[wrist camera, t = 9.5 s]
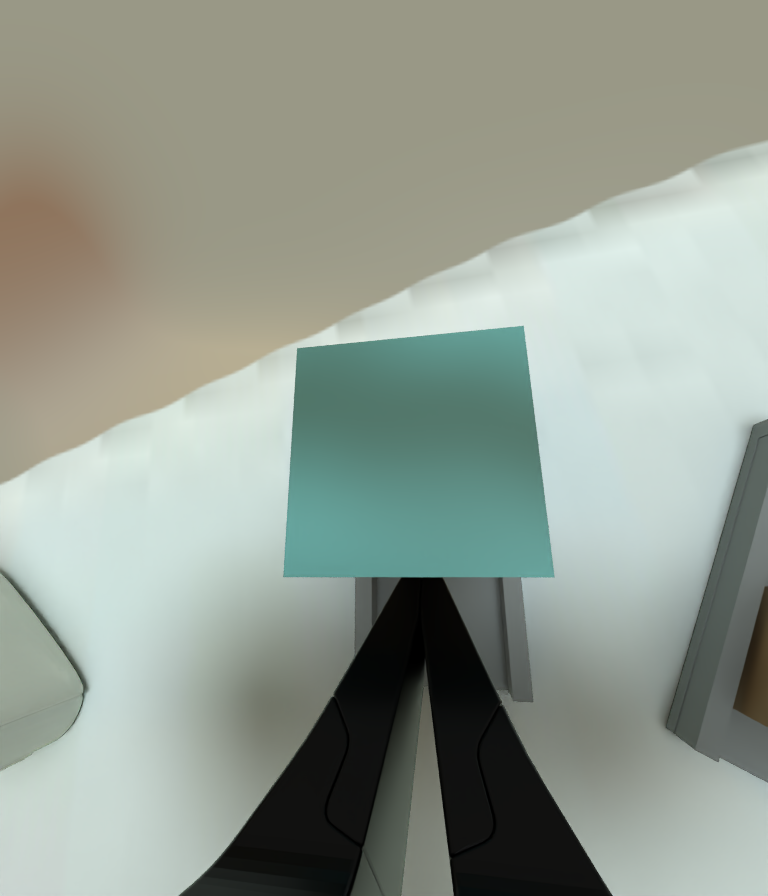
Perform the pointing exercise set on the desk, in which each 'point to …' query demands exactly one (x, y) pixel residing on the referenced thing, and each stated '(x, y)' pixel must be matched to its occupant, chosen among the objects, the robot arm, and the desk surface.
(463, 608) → the slate track
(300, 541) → the oak key
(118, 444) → the desk surface
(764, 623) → the oak key
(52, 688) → the photo printer
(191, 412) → the desk surface
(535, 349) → the desk surface
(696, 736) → the slate track
